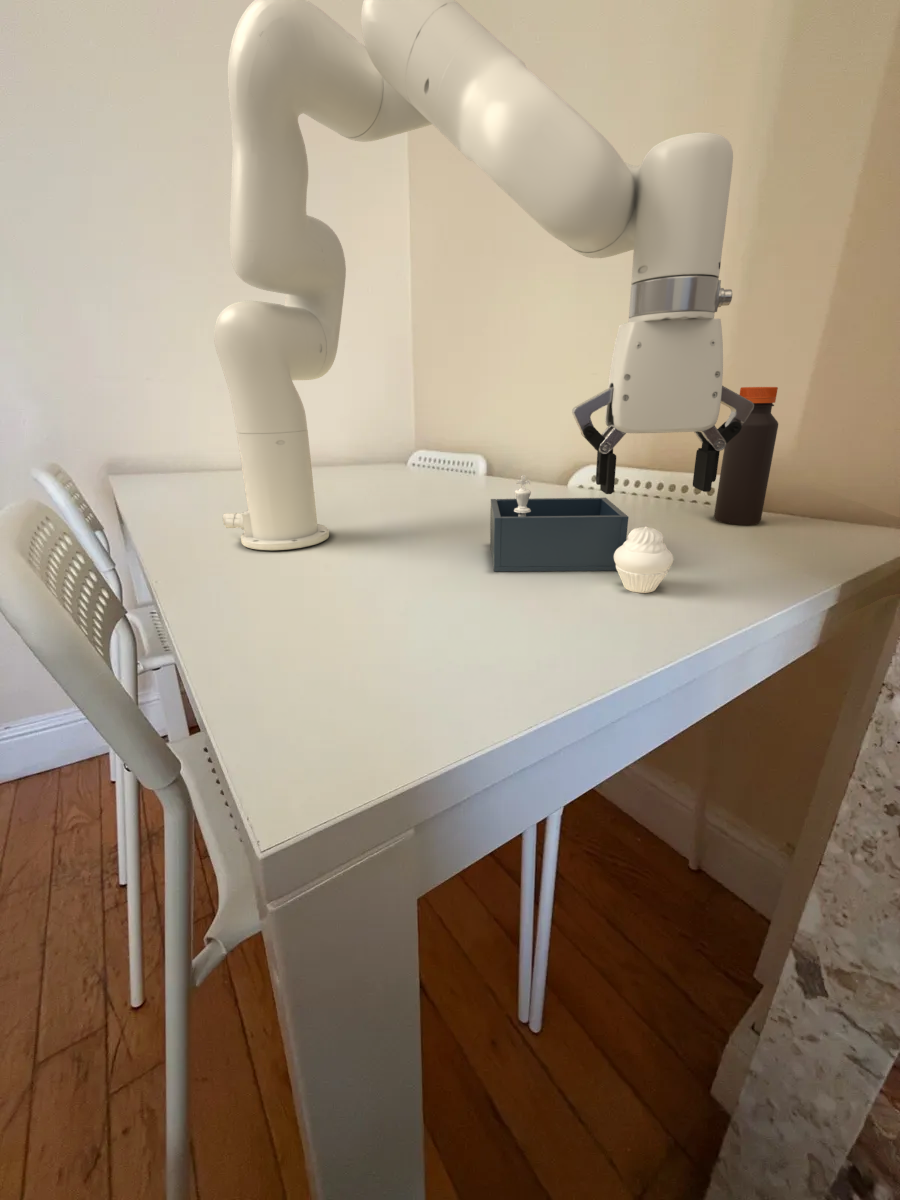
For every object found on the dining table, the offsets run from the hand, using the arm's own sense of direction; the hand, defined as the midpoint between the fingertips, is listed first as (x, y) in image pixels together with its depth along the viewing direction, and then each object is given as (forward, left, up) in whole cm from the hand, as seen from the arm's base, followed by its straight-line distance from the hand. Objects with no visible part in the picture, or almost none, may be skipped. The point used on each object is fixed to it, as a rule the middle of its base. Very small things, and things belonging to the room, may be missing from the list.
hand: (653, 490), depth 59 cm
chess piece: (-12, +12, -10) cm, 20 cm away
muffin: (0, 0, -11) cm, 11 cm away
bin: (-8, +12, -11) cm, 18 cm away
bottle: (+24, +31, -11) cm, 41 cm away
